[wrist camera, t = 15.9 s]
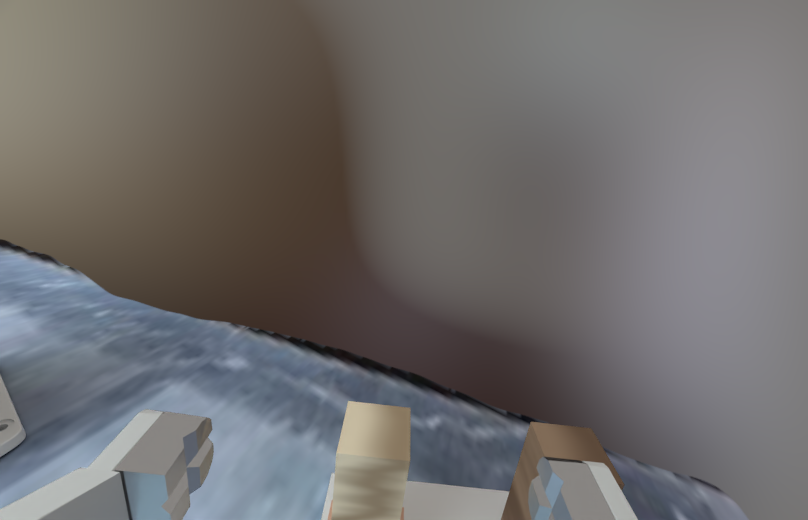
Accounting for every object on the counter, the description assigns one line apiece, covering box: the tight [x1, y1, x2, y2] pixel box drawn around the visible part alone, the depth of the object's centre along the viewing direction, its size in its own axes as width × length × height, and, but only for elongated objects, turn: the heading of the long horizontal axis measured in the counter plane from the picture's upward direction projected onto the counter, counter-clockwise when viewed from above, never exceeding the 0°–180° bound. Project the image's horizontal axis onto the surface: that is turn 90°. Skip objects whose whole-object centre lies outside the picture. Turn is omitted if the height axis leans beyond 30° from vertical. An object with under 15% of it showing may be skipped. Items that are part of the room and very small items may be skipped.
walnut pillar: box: [501, 422, 624, 520], centre depth 26 cm, size 4×4×11 cm
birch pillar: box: [331, 401, 410, 520], centre depth 26 cm, size 4×4×11 cm
